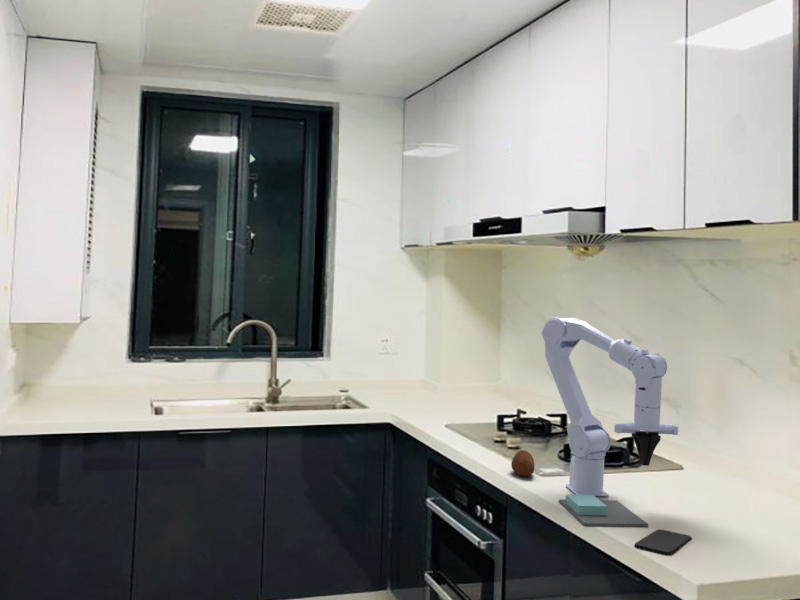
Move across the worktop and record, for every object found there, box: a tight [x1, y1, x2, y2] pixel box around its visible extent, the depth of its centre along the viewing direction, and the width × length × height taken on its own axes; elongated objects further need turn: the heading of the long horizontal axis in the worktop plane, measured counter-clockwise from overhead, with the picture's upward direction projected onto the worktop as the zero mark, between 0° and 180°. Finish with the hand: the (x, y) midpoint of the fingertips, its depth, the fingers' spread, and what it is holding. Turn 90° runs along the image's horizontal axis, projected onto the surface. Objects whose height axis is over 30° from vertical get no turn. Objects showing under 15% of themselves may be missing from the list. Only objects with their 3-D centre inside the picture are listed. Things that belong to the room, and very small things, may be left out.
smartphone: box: [633, 528, 693, 556], centre depth 157 cm, size 7×1×15 cm
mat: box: [558, 499, 649, 528], centre depth 176 cm, size 18×14×1 cm
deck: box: [565, 494, 607, 515], centre depth 176 cm, size 9×2×6 cm
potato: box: [510, 449, 535, 477], centre depth 209 cm, size 6×12×6 cm, turn 7°
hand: (644, 464), depth 182 cm, fingers closed
